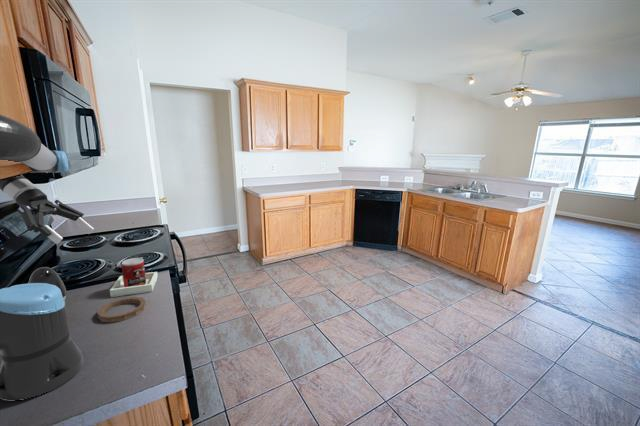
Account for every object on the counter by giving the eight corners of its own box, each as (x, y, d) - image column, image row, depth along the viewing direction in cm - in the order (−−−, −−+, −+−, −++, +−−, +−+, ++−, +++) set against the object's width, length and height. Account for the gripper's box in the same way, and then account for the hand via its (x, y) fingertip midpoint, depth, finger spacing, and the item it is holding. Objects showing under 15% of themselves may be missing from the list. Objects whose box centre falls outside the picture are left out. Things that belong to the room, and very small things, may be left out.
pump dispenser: (39, 317, 93) (31, 275, 90) (22, 311, 96) (13, 270, 93) (75, 303, 102) (68, 264, 99) (58, 298, 106) (51, 260, 103)
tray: (152, 291, 112) (151, 284, 111) (110, 297, 107) (109, 290, 106) (157, 277, 125) (157, 271, 124) (120, 282, 119) (120, 276, 119)
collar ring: (140, 317, 94) (140, 312, 94) (92, 325, 89) (91, 320, 89) (148, 299, 106) (148, 294, 106) (106, 305, 101) (105, 300, 101)
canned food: (128, 291, 110) (125, 266, 108) (121, 286, 115) (118, 261, 113) (149, 285, 116) (146, 260, 114) (141, 280, 121) (138, 256, 119)
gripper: (53, 197, 110) (96, 234, 113) (-22, 207, 86) (36, 253, 89) (64, 184, 109) (107, 221, 112) (-8, 191, 85) (51, 238, 88)
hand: (76, 236), depth 101 cm, fingers open, 13 cm apart
